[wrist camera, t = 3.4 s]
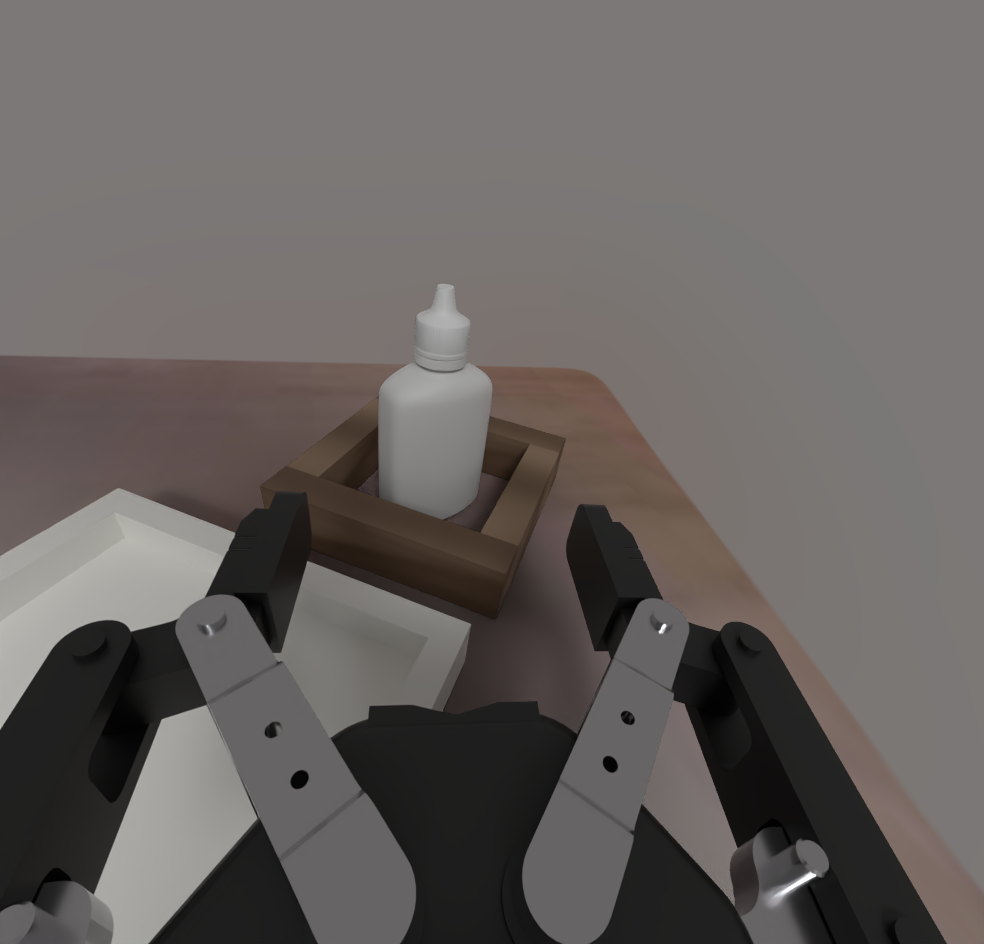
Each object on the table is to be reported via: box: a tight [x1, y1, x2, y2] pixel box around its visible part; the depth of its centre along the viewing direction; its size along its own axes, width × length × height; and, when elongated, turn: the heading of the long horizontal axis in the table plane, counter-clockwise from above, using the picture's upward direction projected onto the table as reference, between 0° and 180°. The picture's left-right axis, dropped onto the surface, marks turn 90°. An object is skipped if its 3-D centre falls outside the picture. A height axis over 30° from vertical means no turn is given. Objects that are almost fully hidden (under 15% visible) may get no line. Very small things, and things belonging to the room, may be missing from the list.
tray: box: [0, 488, 471, 944], centre depth 14 cm, size 15×17×2 cm
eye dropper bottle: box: [378, 284, 492, 520], centre depth 24 cm, size 4×6×12 cm
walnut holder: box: [260, 396, 566, 619], centre depth 26 cm, size 12×12×3 cm
